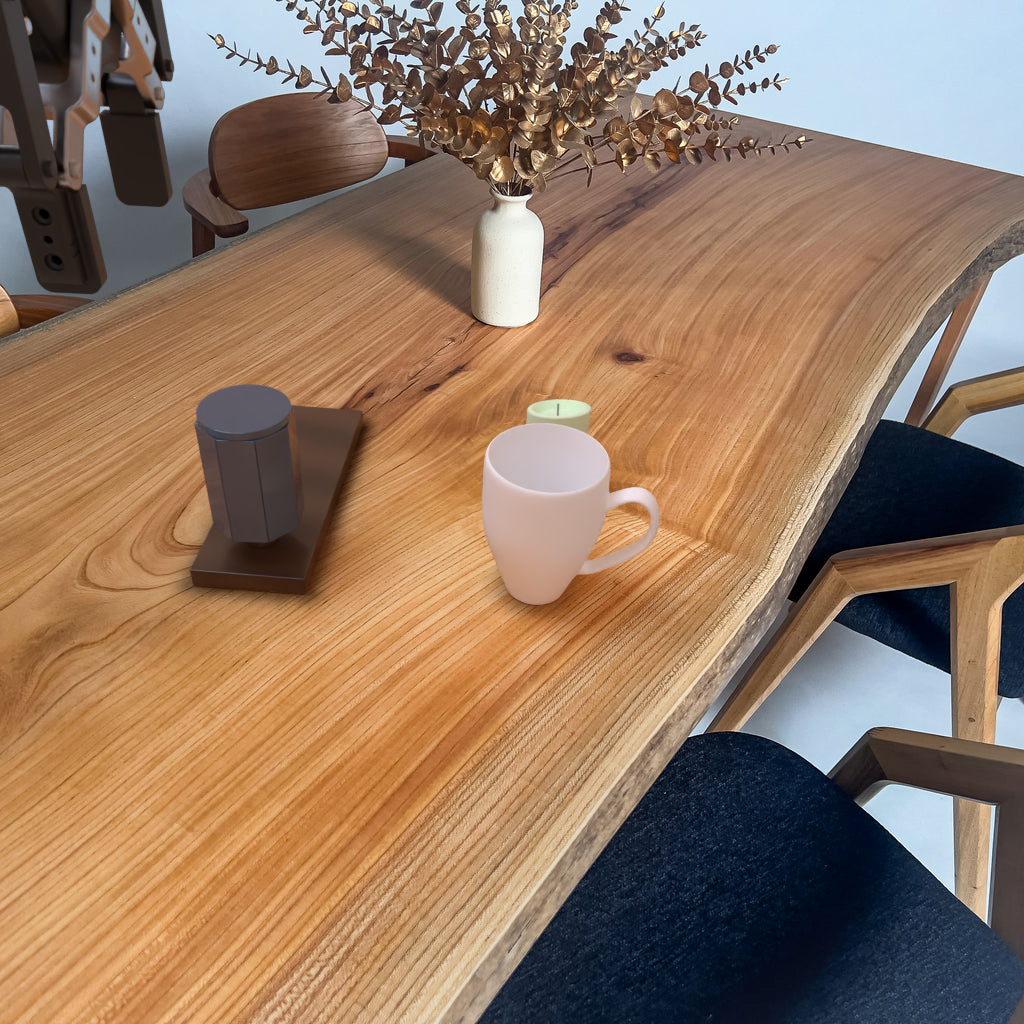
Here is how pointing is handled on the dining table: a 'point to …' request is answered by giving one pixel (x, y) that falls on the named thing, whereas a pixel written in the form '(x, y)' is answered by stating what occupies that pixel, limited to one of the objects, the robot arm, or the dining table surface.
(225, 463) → the cup
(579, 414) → the candle
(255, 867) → the dining table surface
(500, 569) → the mug
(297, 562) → the cup stand
